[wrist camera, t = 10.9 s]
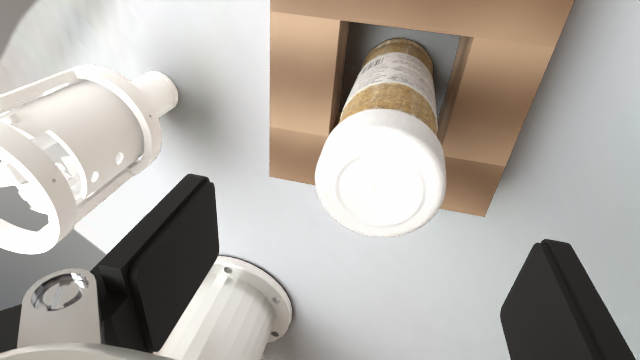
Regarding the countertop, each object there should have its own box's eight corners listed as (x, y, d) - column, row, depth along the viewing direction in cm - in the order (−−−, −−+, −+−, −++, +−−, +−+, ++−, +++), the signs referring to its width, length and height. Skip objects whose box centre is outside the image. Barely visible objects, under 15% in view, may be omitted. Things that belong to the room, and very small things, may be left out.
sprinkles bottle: (382, 118, 26) (353, 256, 15) (347, 59, 24) (286, 164, 13) (446, 86, 24) (470, 219, 13) (414, 20, 22) (408, 105, 11)
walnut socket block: (476, 182, 27) (484, 216, 23) (286, 149, 28) (269, 176, 25) (562, -47, 19) (592, -44, 16) (293, -73, 21) (270, -75, 17)
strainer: (98, 53, 28) (-159, 147, 15) (178, 32, 25) (-46, 121, 13) (143, 139, 31) (-37, 272, 19) (217, 127, 29) (68, 269, 16)
